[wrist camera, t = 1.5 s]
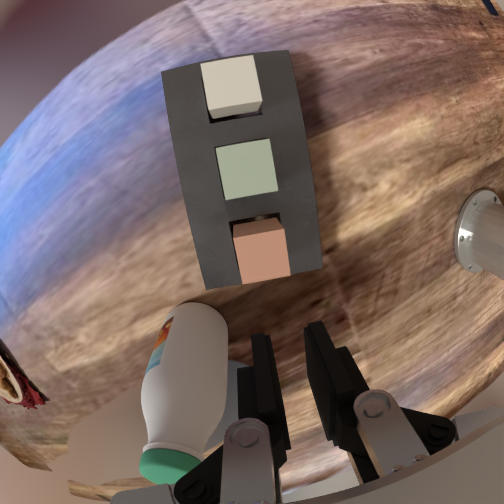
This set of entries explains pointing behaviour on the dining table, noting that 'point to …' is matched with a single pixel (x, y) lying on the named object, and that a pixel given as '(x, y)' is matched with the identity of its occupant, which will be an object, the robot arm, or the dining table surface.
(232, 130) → the panel
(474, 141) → the dining table surface
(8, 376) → the plate with food
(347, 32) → the dining table surface
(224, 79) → the ivory key
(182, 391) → the milk bottle
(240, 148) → the sage key
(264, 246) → the terracotta key
